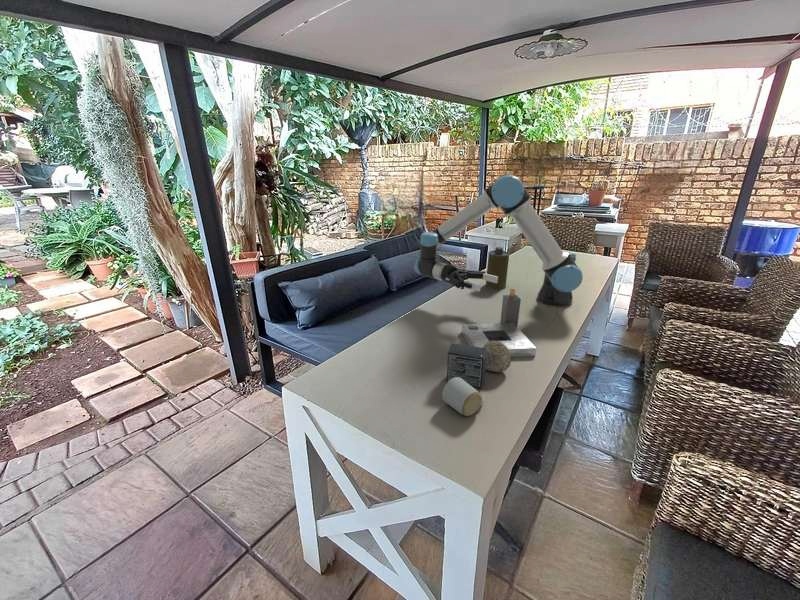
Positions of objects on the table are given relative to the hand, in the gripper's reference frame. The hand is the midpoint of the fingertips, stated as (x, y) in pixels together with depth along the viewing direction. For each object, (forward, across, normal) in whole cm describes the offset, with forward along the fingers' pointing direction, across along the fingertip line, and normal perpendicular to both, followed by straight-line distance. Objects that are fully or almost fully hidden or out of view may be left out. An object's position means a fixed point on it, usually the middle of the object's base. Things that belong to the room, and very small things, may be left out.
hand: (489, 283), depth 146 cm
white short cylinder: (+25, +54, -15) cm, 62 cm away
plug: (+10, 0, -15) cm, 18 cm away
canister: (-17, -40, -15) cm, 46 cm away
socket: (+14, +16, -15) cm, 26 cm away
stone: (+22, +33, -15) cm, 43 cm away
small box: (+19, +44, -15) cm, 50 cm away
